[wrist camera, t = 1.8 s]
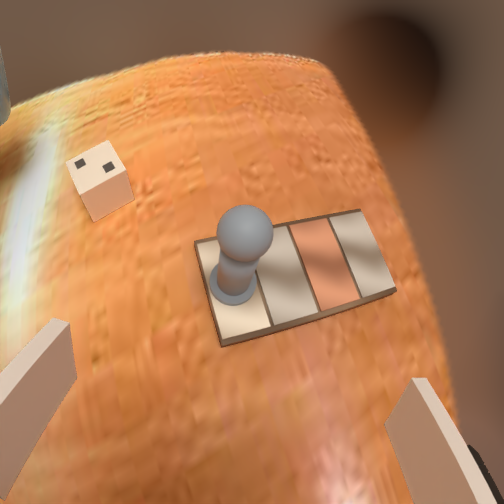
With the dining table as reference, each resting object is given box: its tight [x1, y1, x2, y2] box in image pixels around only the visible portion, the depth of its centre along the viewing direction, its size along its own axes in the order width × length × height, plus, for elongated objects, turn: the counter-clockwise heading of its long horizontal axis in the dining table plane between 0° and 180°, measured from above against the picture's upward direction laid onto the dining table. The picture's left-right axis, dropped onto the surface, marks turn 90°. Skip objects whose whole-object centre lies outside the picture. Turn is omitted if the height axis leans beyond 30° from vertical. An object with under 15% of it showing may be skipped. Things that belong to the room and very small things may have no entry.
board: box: [194, 209, 397, 348], centre depth 37 cm, size 12×22×2 cm, turn 107°
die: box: [65, 140, 135, 222], centre depth 36 cm, size 6×6×6 cm
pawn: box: [210, 205, 274, 306], centre depth 28 cm, size 5×5×13 cm
